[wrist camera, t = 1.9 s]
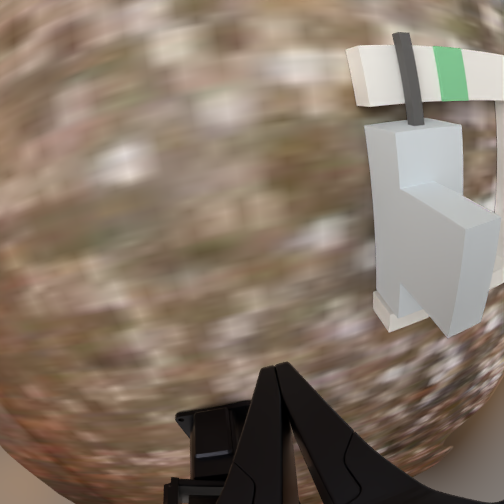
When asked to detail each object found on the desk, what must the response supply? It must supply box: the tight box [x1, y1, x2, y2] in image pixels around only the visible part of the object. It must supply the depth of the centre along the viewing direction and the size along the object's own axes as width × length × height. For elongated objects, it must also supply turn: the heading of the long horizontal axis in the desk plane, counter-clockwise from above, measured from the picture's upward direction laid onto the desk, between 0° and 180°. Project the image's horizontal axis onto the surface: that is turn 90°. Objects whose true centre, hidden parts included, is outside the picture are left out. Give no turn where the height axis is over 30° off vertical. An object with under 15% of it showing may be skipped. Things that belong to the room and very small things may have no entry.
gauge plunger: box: [364, 32, 501, 338], centre depth 12 cm, size 14×4×8 cm, turn 13°
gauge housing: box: [346, 45, 504, 332], centre depth 14 cm, size 16×14×5 cm
